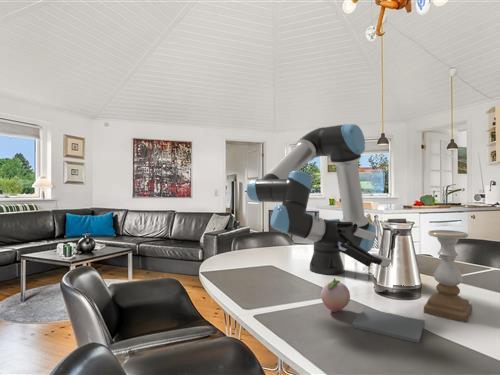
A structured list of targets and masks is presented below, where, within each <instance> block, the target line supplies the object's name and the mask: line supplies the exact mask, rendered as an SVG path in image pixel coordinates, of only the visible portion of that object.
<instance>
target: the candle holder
mask: <svg viewBox="0 0 500 375" xmlns="http://www.w3.org/2000/svg"><path fill="white" fill-rule="evenodd" d="M427 234H428V236H430V237H434V238H436V239H437V241H438V242H439V244H440V248H439V251H437V255H439V258H440V261H441V262H440V263H439V265H438V267H437V268H436V269H435V270H434V272H433V278H434V280H435V281H436V282H437V283H438V284H437V285H436V286H435V288H436V291H437V293H433V294H432V295H430V297H428V300H427V302H426V303H425V304H424V306H423V313H424V314H428V315H430V316H436V317H439V318H444V319H447V320H448V319H449V320H451V321H452V320H453V321H457V322H461V323H467V322H469V319H470V317H471V315H472V313H473V305H472V304H471V303H470V301H469V300H468V299H465V298H462V297H461V296H459V294H460V293H461V289H460V287H459V286H458V285H460V284H461V283H462V282H463V276H462V273H461V271H460V270H459V269H458V267H457V266H456V262H455V261H456V258H457V257H458V256H459V254H458V252H457V250H456V249H455V246H456V244H457V243H458V242H459V240H461V239H462V240H464V239H467V238H468V237H469V234H468V233H467V232H464V231H459V230H448V229H447V230H446V229H434V230H429V231H428V233H427Z"/></svg>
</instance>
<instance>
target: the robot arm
mask: <svg viewBox="0 0 500 375" xmlns="http://www.w3.org/2000/svg"><path fill="white" fill-rule="evenodd" d="M365 149H366V140H365V135H364V133H363V130H362V129H361V127H360V126H358V125H357V124H354V123H353V124H352V123H351V124H347V123H345V124H340V125H339V124H338V125H332V126H326V127H323V126H322V127H318V128H315V129H313V130H312V131H310V132H308V133H306V134H305V135H303V136H302V137H301V138H299V139H298V140H297V141H296V142H295V143H294V147H293V148H292V149H291V150H290V151H289V152H288V153H287V154H286V155H285V156H284V157H283V158H281V160H280V161H278V162H277V163H276V165H274V166H273V167H272V168H271V169H270V170H269V171H268V172H266V174H265V175H263V176H262V177H261V178H259V179H258V178H256V179H252V180H250V181H249V182H248V183H247V186H246V193H247V197H248V198H249V200H250V201H253V202H259V203H264V202H265V203H281V204H277V205H276V206H274V208H273V210H272V213H271V217H270V227H271V228H272V229H273V230H276V231H279V232H282V233H284V234H287V235H291V236H296V237H298V238H302V239H305V240H308V241H311V242H313V254H312V256H311V259H310V262H309V271H310V272H312V273H315V274H322V275H340V274H342V273H344V271H345V266H344V263H343V259H342V256H341V253H342V254H344V255H346V256H348V257H349V258H352V259H353V260H355V261H356V262H357V261H358V262H359V263H360V264H363V265H365V267H368V268H369V267H370V266H371V265H372V264H375V265H379V266H380V267H381V266H385V267H388V266H389V265H390V264H391V262H392V261H393V260H392V258H390V257H386V256H382V255H380V254H377V253H373V252H372V253H370V251H371V250H372V248H373V247H374V244H375V240H376V233H377V232H376V226H375V225H374V224H372V223H371V224H370V219H369V218H368V217H367V216H366V215H365V210H364V209H365V208H364V201H363V194H362V192H363V191H362V184H361V179H360V177H361V176H360V171H359V170H360V169H359V163H358V161H360V159H361V158H362V154H363V153H364V152H365ZM319 157H329V158H330V162H331V163H332V164H333V165H335V171H336V178H337V179H336V180H337V184H338V191H339V197H340V204H341V211H342V212H341V213H342V217H343V218H341V219H340V218H331V219H327V218H326V219H325V218H324V219H323V218H322V217H320V216H318V215H316V216H315V215H313V214H310V213H307V206H308V203H309V198H310V194H311V191H312V188H311V187H312V180H313V179H312V176H311V175H310V174H309V173H307V172H305V171H302V170H301V169H302V168H303V167H304V166H305V165H306V164H307V163H309V162H311V161H313V160H315V158H319Z"/></svg>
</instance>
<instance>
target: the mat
mask: <svg viewBox="0 0 500 375" xmlns="http://www.w3.org/2000/svg"><path fill="white" fill-rule="evenodd" d="M359 313H360V314H358V316H357V317H356V318H355V319H354V320H353V322H352V323H351V328H354V329H359V330H363V331H366V332H370V333H375V334H379V335H384V336H387V337H392V338H396V339H401V340H405V341H408V342H414V343H417V344H419V343H420V342H421V341H420V340H421V337H422V334H423V331H424V328H425V323H426V321H425V320H424V319H420V318H415V317H410V316H405V315H400V314H396V313H389V312H386V311H385V312H384V311H380V310H375V309H371V308H364V309H363V310H362V311H361V312H359Z"/></svg>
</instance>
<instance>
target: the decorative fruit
mask: <svg viewBox="0 0 500 375" xmlns="http://www.w3.org/2000/svg"><path fill="white" fill-rule="evenodd" d="M320 297H321V298H320V299H321V301H322V303H323V304H324V306H325V307H326V308H327V309H328V310H330V311H332V312H333V313H336V312H338V311H341V310H343V309H344V308H345V307H347V306H348V305H349V303H350V301H351V292H350V290H349V288H348V287H347V286H346V284H344V283H342V282H341V281H340V280H337V279H336V278H333V280H331V281H328V282H326V283H325V284H324V286H323V287H322V290H321V292H320Z"/></svg>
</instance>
